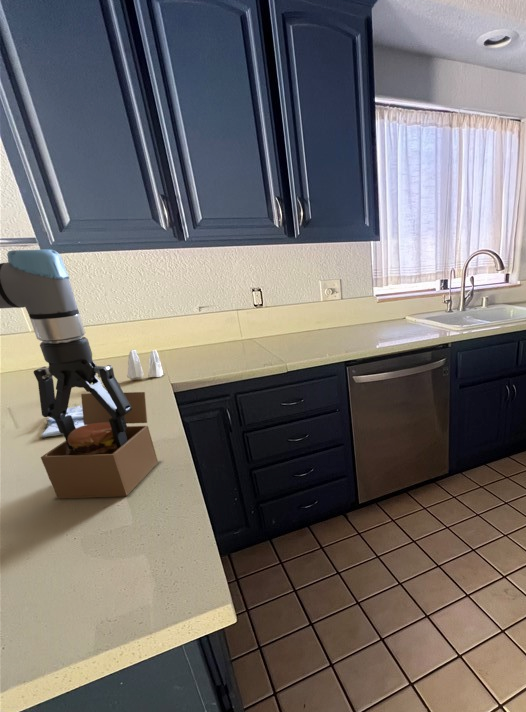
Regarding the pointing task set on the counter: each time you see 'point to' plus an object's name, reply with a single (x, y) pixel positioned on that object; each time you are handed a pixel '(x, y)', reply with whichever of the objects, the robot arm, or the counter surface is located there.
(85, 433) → the burger
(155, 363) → the shaker set
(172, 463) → the counter surface
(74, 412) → the snack bag
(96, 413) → the flap
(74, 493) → the carton
